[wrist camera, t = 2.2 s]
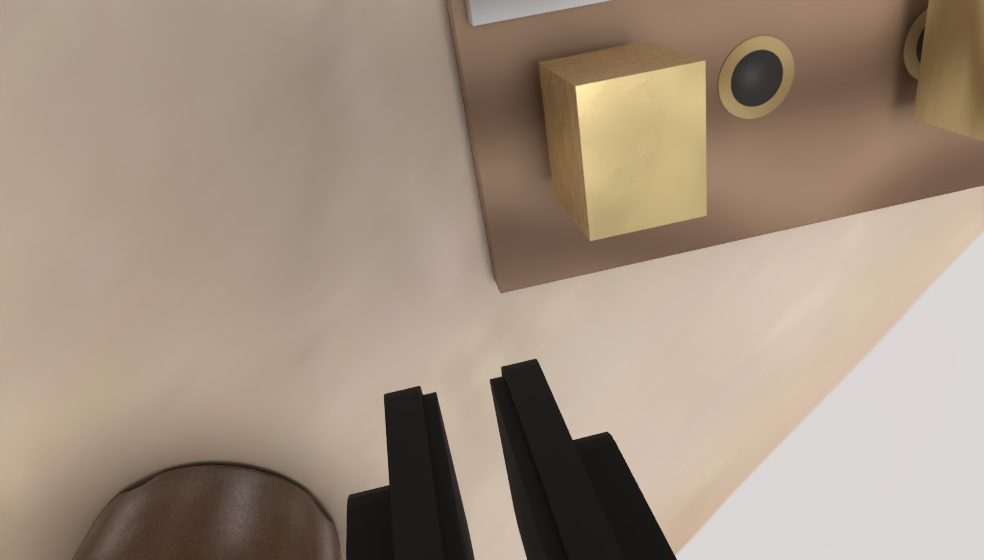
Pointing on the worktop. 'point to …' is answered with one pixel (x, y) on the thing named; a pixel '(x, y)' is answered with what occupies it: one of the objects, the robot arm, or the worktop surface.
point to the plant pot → (212, 519)
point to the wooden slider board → (730, 115)
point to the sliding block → (627, 137)
